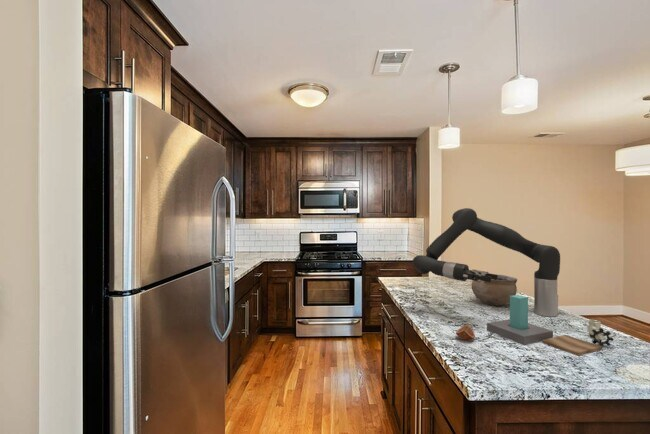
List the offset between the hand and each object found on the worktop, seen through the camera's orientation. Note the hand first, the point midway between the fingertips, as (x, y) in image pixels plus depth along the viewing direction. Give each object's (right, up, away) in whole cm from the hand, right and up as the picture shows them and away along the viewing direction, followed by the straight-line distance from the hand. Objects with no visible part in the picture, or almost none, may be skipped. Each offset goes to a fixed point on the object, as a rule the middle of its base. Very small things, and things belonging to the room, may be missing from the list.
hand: (494, 278), depth 132 cm
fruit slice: (-17, -21, -12) cm, 30 cm away
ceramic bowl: (+21, -21, +40) cm, 50 cm away
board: (+18, -21, -18) cm, 33 cm away
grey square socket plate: (+6, -21, -6) cm, 23 cm away
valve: (+32, -21, -13) cm, 41 cm away
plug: (+6, -21, -6) cm, 23 cm away
